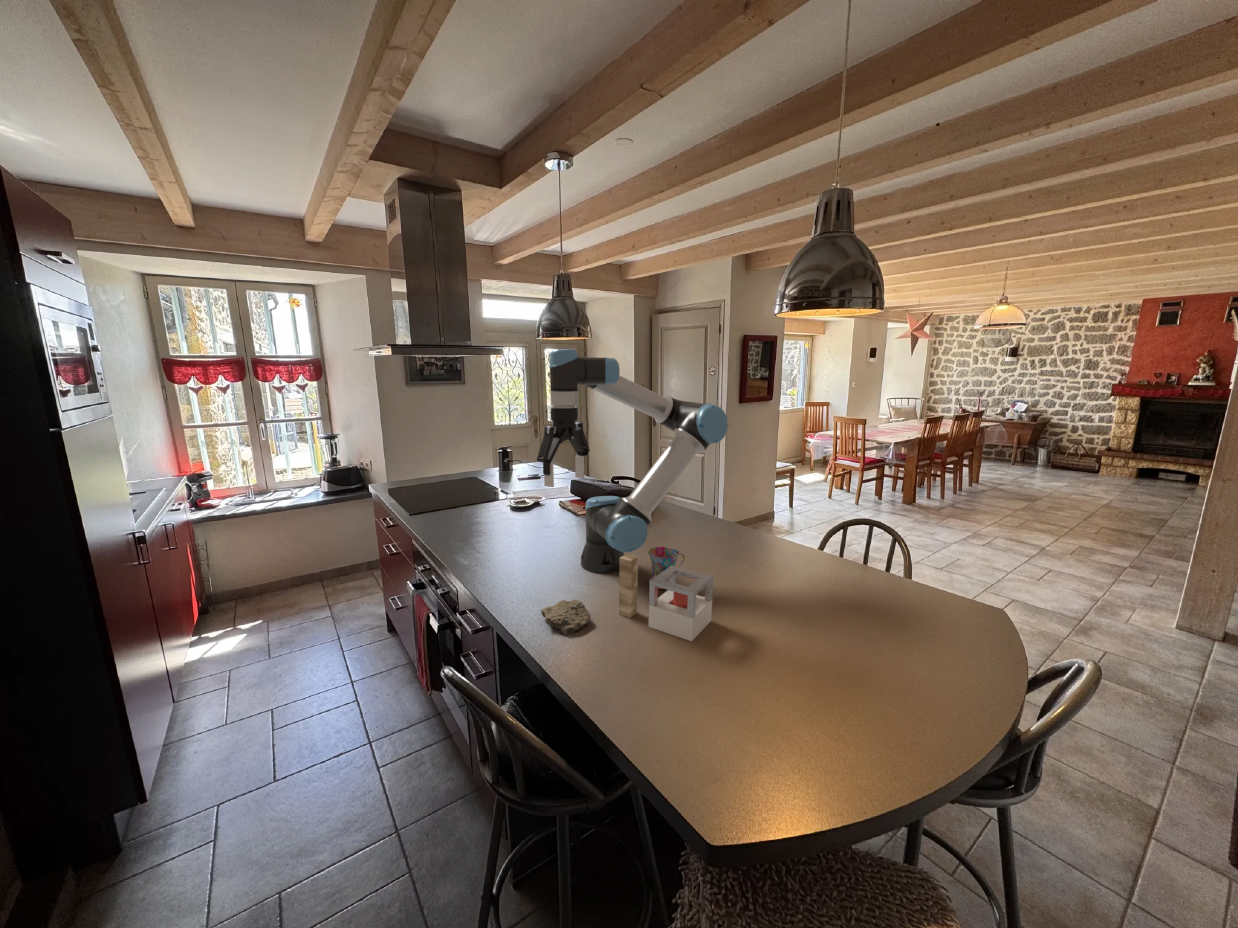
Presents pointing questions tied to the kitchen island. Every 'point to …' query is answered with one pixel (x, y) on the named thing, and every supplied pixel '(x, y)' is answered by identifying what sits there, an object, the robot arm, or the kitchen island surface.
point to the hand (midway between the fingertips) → (565, 481)
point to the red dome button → (680, 600)
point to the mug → (663, 560)
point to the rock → (567, 615)
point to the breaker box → (679, 617)
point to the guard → (682, 586)
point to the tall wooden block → (628, 585)
